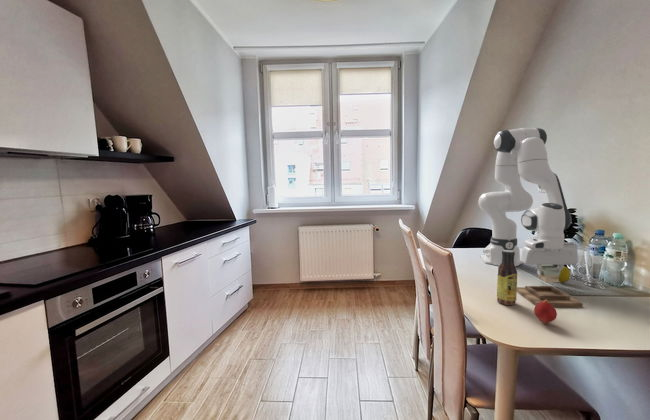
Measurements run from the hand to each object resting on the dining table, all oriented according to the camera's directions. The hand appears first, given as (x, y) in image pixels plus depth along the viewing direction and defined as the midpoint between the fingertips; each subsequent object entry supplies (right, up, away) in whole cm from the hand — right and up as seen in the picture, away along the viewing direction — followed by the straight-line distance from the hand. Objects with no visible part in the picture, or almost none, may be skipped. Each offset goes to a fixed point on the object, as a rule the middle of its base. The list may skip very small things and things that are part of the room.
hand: (548, 274), depth 122 cm
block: (0, -2, 0) cm, 2 cm away
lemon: (+9, -5, +4) cm, 11 cm away
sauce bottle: (-26, -8, -13) cm, 30 cm away
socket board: (-9, -7, -11) cm, 16 cm away
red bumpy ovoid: (-24, -9, -29) cm, 39 cm away
